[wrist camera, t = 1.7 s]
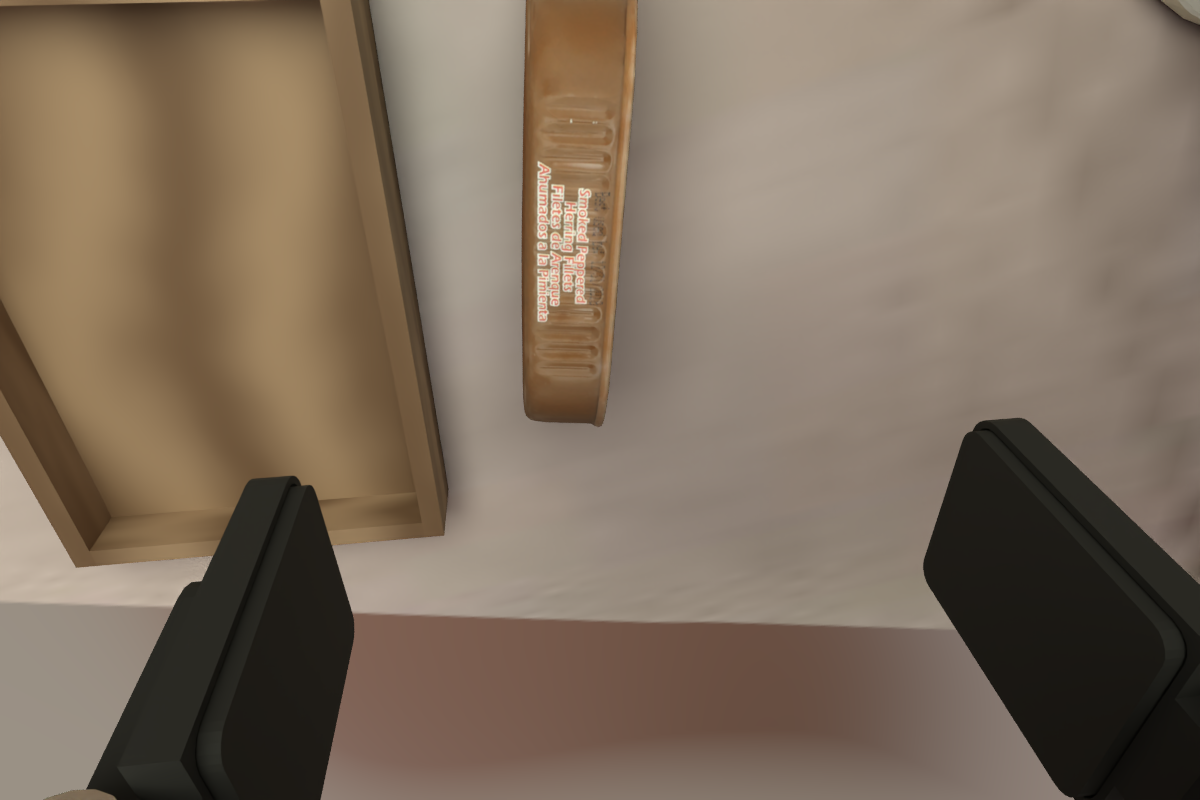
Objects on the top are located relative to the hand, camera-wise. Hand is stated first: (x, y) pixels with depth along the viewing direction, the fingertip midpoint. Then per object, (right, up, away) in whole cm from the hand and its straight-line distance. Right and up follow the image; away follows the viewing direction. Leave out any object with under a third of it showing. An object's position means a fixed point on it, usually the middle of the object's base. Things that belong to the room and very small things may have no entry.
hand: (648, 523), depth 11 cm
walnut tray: (-15, +6, +16) cm, 23 cm away
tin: (-2, +10, +15) cm, 19 cm away
